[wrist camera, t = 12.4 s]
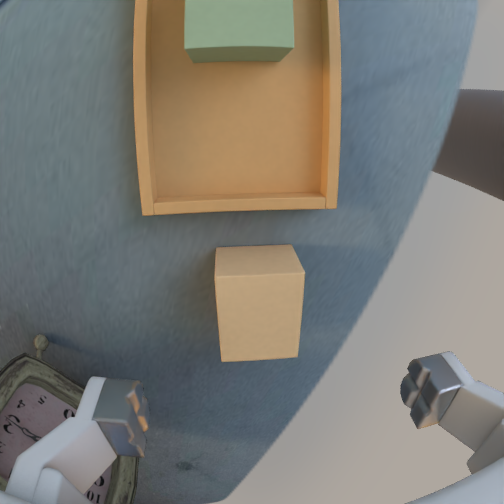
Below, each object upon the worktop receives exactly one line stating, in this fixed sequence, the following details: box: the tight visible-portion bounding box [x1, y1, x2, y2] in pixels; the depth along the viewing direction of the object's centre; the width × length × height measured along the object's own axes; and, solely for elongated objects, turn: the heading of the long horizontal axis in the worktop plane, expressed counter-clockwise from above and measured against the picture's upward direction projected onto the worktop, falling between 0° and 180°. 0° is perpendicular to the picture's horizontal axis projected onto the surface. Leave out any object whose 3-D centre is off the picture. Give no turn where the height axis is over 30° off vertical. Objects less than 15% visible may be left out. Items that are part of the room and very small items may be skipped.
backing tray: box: [133, 0, 341, 216], centre depth 17 cm, size 13×19×2 cm
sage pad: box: [184, 0, 294, 63], centre depth 14 cm, size 6×7×4 cm
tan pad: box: [214, 244, 305, 362], centre depth 23 cm, size 6×7×4 cm
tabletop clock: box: [0, 334, 139, 504], centre depth 16 cm, size 14×9×25 cm, turn 43°
